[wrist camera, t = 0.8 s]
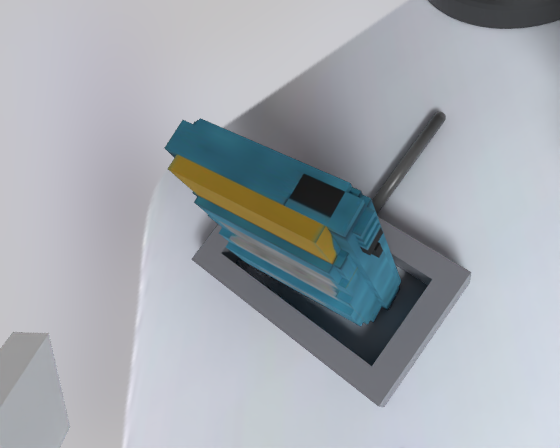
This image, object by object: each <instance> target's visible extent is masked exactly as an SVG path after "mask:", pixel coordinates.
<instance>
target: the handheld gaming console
mask: <svg viewBox="0 0 560 448" xmlns="http://www.w3.org/2000/svg"><path fill="white" fill-rule="evenodd" d="M165 149H166V150H167V151H168V152H169V153H170V154H171V155H172V156H173V157H174V160H173V161H172V163H171V164H170V166H169V168H168V170H169V171H171V172H172V173H173V174H174V175H175V176H176V177H177V178H179V179H180V180H181V181H182V182H183V183H184V184H185V185H187V186H188V187H189V188H190V189H191V190H192V191H193V194H194V195H196V196H197V198H196V200H195V202H194V203H195V204H197V205H198V206H199V207H200V208H201V209H203V210H204V211H205V212H206V213H207V214H208V216H209V217H210V218H211V219H213V220H214V221H215V222H216V223H217V224H219V225H220V226H221V227H222V228H221V230H220V232H219V234H220V235H221V236H223V237H224V238H225V239H226V240H228V241H229V242H228V244H227V245H226V248H227V249H229V250H230V251H231V252H233V253H234V254H235V255H237V256H238V257H239V258H241V259H242V260H243V261H245V262H246V263H248V264H249V265H251V266H253V267H255V268H257V269H258V270H260V271H262V272H264V273H266V274H267V275H269V276H271V277H273V278H275V279H276V280H278V281H280V282H282V283H284V284H285V285H287V286H289V287H291V288H293V289H294V290H296V291H298V292H300V293H301V294H303V295H305V296H307V297H309V298H310V299H312V300H314V301H316V302H318V303H319V304H321V305H323V306H325V307H327V308H328V309H330V310H332V311H334V312H336V313H337V314H339V315H341V316H343V317H345V318H346V319H348V320H350V321H352V322H353V323H355V324H357V325H359V326H361V325H362V324H363V323H365V324H367V325H368V324H369V322H370V321H372V322H374V320H375V319H376V317H377V315H378V313H379V311H380V309H381V307H383V308H384V309H386V310H389V308H390V306H391V304H392V302H393V301H394V299H395V297H396V295H397V293H398V291H399V285H400V283H401V279H400V276H399V274H398V271H397V268H396V265H395V263H394V260H393V257H392V254H391V252H390V249H389V246H388V244H387V241H386V238H385V235H384V233H383V230H382V227H381V224H380V222H379V219H378V216H377V213H376V211H375V208H374V205H373V203H372V200H371V198H369V197H366V196H364V195H362V193H361V191H360V190H358V189H355V188H353V187H352V186H351V183H349V182H347V181H344V180H342V179H340V178H337V177H335V176H333V175H330V174H328V173H326V172H323V171H321V170H319V169H316V168H314V167H312V166H310V165H307V164H305V163H303V162H300V161H298V160H296V159H293V158H291V157H289V156H286V155H284V154H282V153H279V152H277V151H275V150H272V149H270V148H268V147H265V146H263V145H261V144H259V143H256V142H254V141H252V140H249V139H247V138H245V137H242V136H240V135H238V134H235V133H233V132H231V131H228V130H226V129H224V128H221V127H219V126H217V125H214V124H212V123H210V122H208V121H205V120H203V119H199V120H197V121H196V122H194V124H191V123H189V122H186V121H184V120H183V121H182V122H181V123H180V125H179V126H178V128H177V130H176V131H175V133H174V134H173V136H172V137H171V139H170V141H169V142H168V143H167V145H166V147H165Z"/></svg>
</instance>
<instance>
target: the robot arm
mask: <svg viewBox="0 0 560 448" xmlns="http://www.w3.org/2000/svg"><path fill="white" fill-rule="evenodd" d="M429 1H430V2H431V3H432V4H433V5H434V6H435V7H436V8H438V9H439V10H441V11H442V12H444V13H445V14H447V15H449V16H451V17H453V18H455V19H457V20H460V21H463V22H466V23H469V24H472V25H476V26H482V27H488V28H500V29H513V28H525V27H532V26H538V25H542V24H547V23H550V22H554V21H557V20H560V0H429ZM69 428H70V425H69V420H68V416H67V411H66V407H65V403H64V398H63V394H62V390H61V385H60V381H59V376H58V372H57V368H56V363H55V359H54V354H53V350H52V346H51V341H50V337H49V334H48V333H23V332H13V333H12V334H11V335H10V337H9V338H8V339H7V341H6V342H5V344H4V345H3V346H2V347H1V348H0V448H60V447H61V444H62V442H63V440H64V438H65V436H66V434H67V432H68V430H69Z"/></svg>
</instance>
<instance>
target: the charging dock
mask: <svg viewBox="0 0 560 448" xmlns="http://www.w3.org/2000/svg"><path fill="white" fill-rule="evenodd" d="M444 121H445V114H444V113H443V112H437V113H435V114H434V116H433V117H432V118H431V120H430V121H429V122H428V124H427V125H426V127H425V128H424V129H423V131H422V132H421V133H420V135H419V136H418V138H417V139H416V140H415V142H414V143H413V145H412V146H411V147H410V149H409V150H408V151H407V153H406V154H405V156H404V157H403V158H402V160H401V161H400V162H399V164H398V165H397V167H396V168H395V169H394V171H393V172H392V173H391V175H390V176H389V178H388V179H387V180H386V182H385V183H384V184H383V186H382V187H381V189H380V190H379V191H378V193H377V194H376V196H375V197H374V198H373V200H372V203H373V205H374V208H375V211H376V213H377V214H378V212H379V211H380V209H381V208H382V207H383V205H384V204H385V203H386V201H387V200H388V198H389V197H390V196H391V194H392V193H393V191H394V190H395V189H396V187H397V186H398V184H399V183H400V182H401V180H402V179H403V178H404V176H405V175H406V173H407V172H408V171H409V169H410V168H411V166H412V165H413V164H414V162H415V161H416V160H417V158H418V157H419V155H420V154H421V153H422V151H423V150H424V148H425V147H426V146H427V144H428V143H429V142H430V140H431V139H432V137H433V136H434V135H435V133H436V132H437V130H438V129H439V128H440V126H441V125H442V124H443V122H444ZM378 219H379V222H380V224H381V227H382V230H383V233H384V235H385V238H386V241H387V244H388V246H389V249H390V252H391V254H392V257H393V260H394V263H395V265H397V266H398V267H400V268H402V269H403V270H405V271H406V272H408V273H409V274H411V275H413V276H414V277H416V278H417V279H419V280H420V281H422V282H424V283H425V284H427V285H428V286H427V288H426V289H425V291H424V292H423V294H422V295H421V296H420V298H419V299H418V301H417V302H416V304H415V305H414V307H413V308H412V309H411V311H410V312H409V314H408V315H407V317H406V318H405V319H404V321H403V322H402V324H401V325H400V327H399V328H398V329H397V331H396V332H395V334H394V335H393V337H392V338H391V340H390V341H389V342H388V344H387V345H386V347H385V348H384V350H383V351H382V352H381V354H380V355H379V357H378V358H377V360H376V361H375V362H374V364H373V365H372V366H371V365H370V364H369V363H367V362H366V361H365V360H363V359H362V358H361V357H359V356H358V355H357V354H355V353H354V352H353V351H351V350H350V349H349V348H347V347H346V346H345V345H343V344H342V343H341V342H339V341H338V340H337V339H335V338H334V337H333V336H331V335H330V334H329V333H327V332H326V331H325V330H323V329H322V328H321V327H319V326H318V325H317V324H315V323H314V322H313V321H311V320H310V319H309V318H307V317H306V316H305V315H303V314H302V313H301V312H299V311H298V310H297V309H295V308H294V307H293V306H291V305H290V304H289V303H287V302H286V301H285V300H283V299H282V298H281V297H279V296H278V295H277V294H275V293H274V292H273V291H271V290H270V289H269V288H267V287H266V286H265V285H263V284H262V283H261V282H259V281H258V280H257V279H255V278H254V277H253V276H251V275H250V274H249V273H247V272H246V271H245V270H243V269H242V268H241V267H239V266H238V265H237V264H235V262H236V261H237V260H238V258H239V257H238V256H237V255H235V254H234V253H233V252H231V251H230V250H229V249H227V248H226V245H227V244H228V242H229V241H228V240H226V239H225V238H224V237H223V236H221V235H220V234H219V232H220V230H221V228H222V227H221V226H220V225H219V224H218V225H217V226H216V228H215V229H214V230H213V231H212V233H211V234H210V235H209V237H208V238H207V239H206V241H205V242H204V243H203V245H202V246H201V247H200V249H199V250H198V251H197V253H196V254H195V255H194V257H193V258H192V260H193V261H194V262H196V263H197V264H198V265H199V266H201V267H202V268H203V269H204V270H206V271H207V272H208V273H210V274H211V275H212V276H213V277H215V278H216V279H217V280H218V281H220V282H221V283H222V284H224V285H225V286H226V287H227V288H229V289H230V290H231V291H232V292H234V293H235V294H236V295H238V296H239V297H240V298H241V299H243V300H244V301H245V302H246V303H248V304H249V305H250V306H252V307H253V308H254V309H255V310H257V311H258V312H259V313H260V314H262V315H263V316H264V317H266V318H267V319H268V320H269V321H271V322H272V323H273V324H274V325H276V326H277V327H278V328H280V329H281V330H282V331H283V332H285V333H286V334H287V335H288V336H290V337H291V338H292V339H294V340H295V341H296V342H297V343H299V344H300V345H301V346H302V347H304V348H305V349H306V350H308V351H309V352H310V353H311V354H313V355H314V356H315V357H316V358H318V359H319V360H320V361H322V362H323V363H324V364H325V365H327V366H328V367H329V368H330V369H332V370H333V371H334V372H336V373H337V374H338V375H339V376H341V377H342V378H343V379H344V380H346V381H347V382H348V383H350V384H351V385H352V386H353V387H355V388H356V389H357V390H358V391H360V392H361V393H362V394H363V395H365V396H366V397H367V398H369V399H370V400H371V401H372V402H374V403H375V404H376V405H377V406H379V407H384V406H385V405H386V404H387V402H388V401H389V399H390V398H391V396H392V395H393V393H394V392H395V390H396V389H397V388H398V386H399V385H400V383H401V382H402V380H403V379H404V377H405V376H406V374H407V373H408V372H409V370H410V369H411V367H412V366H413V364H414V363H415V361H416V360H417V358H418V357H419V356H420V354H421V353H422V351H423V350H424V348H425V347H426V345H427V344H428V342H429V341H430V340H431V338H432V337H433V335H434V334H435V332H436V331H437V329H438V328H439V326H440V325H441V324H442V322H443V321H444V319H445V318H446V316H447V315H448V313H449V312H450V311H451V309H452V308H453V306H454V305H455V303H456V302H457V300H458V299H459V297H460V296H461V295H462V293H463V292H464V290H465V289H466V287H467V286H468V284H469V283H470V277H471V272H470V271H468V270H466V269H465V268H463V267H461V266H460V265H458V264H456V263H455V262H453V261H451V260H450V259H448V258H446V257H445V256H443V255H441V254H440V253H438V252H436V251H435V250H433V249H431V248H430V247H428V246H426V245H425V244H423V243H421V242H420V241H418V240H416V239H415V238H413V237H411V236H410V235H408V234H406V233H405V232H403V231H401V230H400V229H398V228H396V227H395V226H393V225H391V224H390V223H388V222H386V221H385V220H383V219H381V218H380V217H378Z"/></svg>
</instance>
